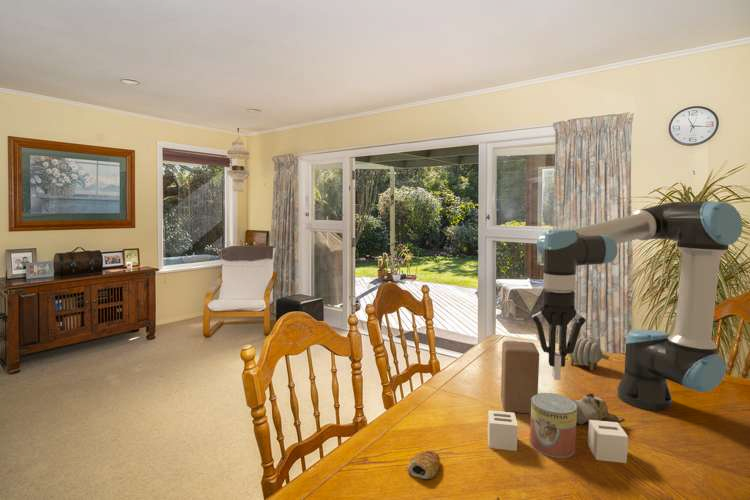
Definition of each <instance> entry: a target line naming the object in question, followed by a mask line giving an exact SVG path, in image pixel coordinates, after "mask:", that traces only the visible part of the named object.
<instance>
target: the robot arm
mask: <svg viewBox="0 0 750 500" xmlns="http://www.w3.org/2000/svg"><path fill="white" fill-rule="evenodd" d="M742 232H743V221H742V216H741V214H740V212H739V211H738V210H737V208H736V207H735V206H734V205H732V204H730V203H729V202H725V201H712V200H710V201H673V202H672V201H671V202H664V203H661V204H658V205H657V204H656V205H654V206H653V205H652V206H650V207H647V208H641V209H637V210H635V211H633V212H632V213H631V214H630V215H626V216H623V217H622V216H621V217H619V218H614V219H611V220H610V219H609V220H605V221H602V222H596V223H593V224H588V225H585V226H581V227H576V228H571V229H568V228H559V229H558V228H557V229H556V228H554V229H552V228H551V229H548V230H547V231H545V232H544V233H541V234H540V235H539V236H538V238H537V240H536V249H537V252H538V253H539V254H540V255H541V256H542V257H543V279H542V280H543V281H542V283H543V284H542V285H543V290H542V306H541V308H540V311H539V312H537V313H533V314H531V318H532V320H533V321H534V323H535V326H536V331H537V335H538V340H539V343H540V347H541V349H542V351H543V352H544V353H547V354H548V364H549V367H551V368H552V369H551V376H552V378H553V380H555V381H561V377H562V376H561V374H562V368H564V367H565V366H566V357H567V355H569V353H573V352H574V349H575V345H576V342H577V339H579V335H580V332H581V328H582V327H583V325H584V324H585V323H586V321H587V320H586V317H584V316H583V315H580V314H578V313H577V310H576V308H575V302H576V300H575V299H576V292H575V291H574V290H575V289H576V274H577V273H576V272H577V267H579V266H589V265H599V266H600V265H603V264H604V265H605V264H609V263H611V262H613V261H614V260H615V259H616V257H617V255H618V247H619V246H618V245H619V244H624V243H627V242H631V241H636V240H639V241H643V242H644V241H648V240H668V241H669V240H670V241H676V248H677V249H678V250H679V251H680V252H681V254H682V255H681V257H682V258H681V267H680V274H679V275H680V277H679V283H678V284H679V285H678V294H677V295H678V296H677V297H678V298H677V306H676V316H675V325H674V332H673V334H671V335H670V334H669V333H668V332H666V331H663V330H657V329H655V330H654V329H635V330H633V329H632V330H631V331H629V332H628V333H627V334H626V335H627V336H626V341H625V355H624V372H623V373H624V374H623V376H622V377H621V379H620V381H619V384H618V386H617V388H616V389H617V391H616V395H617V397H618V398H619V400H621V401H623V402H624V403H626V404H628V405H630V406H633V407H637V408H641V409H644V410H651V411H665V410H669V409H671V408H672V405H673V398H672V394H671V391H670V388H669V385H668V381H671V382H673V383H675V384H678V385H680V386H682V387H684V388H686V389H688V390H689V389H690V390H693V391H696V392H700V393H707V392H710V391H712V390H714V389H716V388H717V387H718V386H719V385H720V384H721V382H722V381H723V379H725V375H726V373H727V362H726V360H725V358H724V357H722V356H721V355H720V354H717V353H718V345H717V344H716V343H715V341H714V340H712V339H713V338H712V335H713V334H712V333H713V325H714V316H715V309H716V301H717V300H716V299H717V292H718V291H717V290H718V282H719V280H718V279H719V272H720V262H721V257H722V255H724V254H726V253H727V252H728V251H729V247H730V245H733V244H735V243H736V242H737V241H738V240H740V239H739V238H740V237H741V235H742ZM543 318H544V319H545V320H546V322H547V323H548V344H547V339H546V335H545V332H544V328H543V324H542V321H543ZM572 320H573V321H574V322H573V323H572V324H573V325H572V328H571V332H570V333H569V338H568V340H567V336H568V335H567V331H568V325H569V323H570V322H572ZM557 326H558V328H559V330H558V331H559V332H558V333H559V334H558V335H559V336H558V351H556V343H557V342H556V341H557V340H556V337H557V336H556V335H557ZM566 344H567V347H566ZM547 345H548V346H547ZM667 380H668V381H667Z"/></svg>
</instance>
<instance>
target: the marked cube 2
mask: <svg viewBox="0 0 750 500" xmlns="http://www.w3.org/2000/svg"><path fill="white" fill-rule="evenodd" d="M587 434H588V435H587V446H588V447H589V449H590V451H591V453H592V455H593V457H594V459H595V461H597V460H598V461H603V462H614V463H622V464H627V460H628V445H629V436H628V434H627V433H626V431H625V430H624V428H622V426H621V425H620V423H618V422H608V421H597V420H589V421H588V433H587Z"/></svg>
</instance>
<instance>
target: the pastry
mask: <svg viewBox="0 0 750 500" xmlns="http://www.w3.org/2000/svg"><path fill="white" fill-rule="evenodd" d="M440 460H441V457H440V456H439V454H438V453H436V452H434V451H432V450H425V451H421V452H418V453H417V454H415V455H414V457H411V459H410V460H409V463H408V464H409V465H408V466H407V467H406V470H407V472H408V474H410V475H411V476H412V475H413V477H415V478H421V479H423V480H431V479H433V478H435V476H436V475H437V474H438V471H439V468H440V464H441V463H440V462H441V461H440Z"/></svg>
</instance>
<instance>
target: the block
mask: <svg viewBox="0 0 750 500" xmlns="http://www.w3.org/2000/svg"><path fill="white" fill-rule="evenodd" d="M501 347H502V348H501V350H502V351H501V375H500V376H501V377H500V379H501V380H500V381H501V382H500V399H501V404H502V408H503V411H504V412H512V413H517V414H518V413H520V414H528V415H529V414H530V415H531V398H532V396H534V395H536V394H539V373H540V372H539V371H540V370H539V369H540V353H539V351H538V348H537V346H536V345H535V343H534V342H530V341H513V340H504V341H503V342H502V345H501Z"/></svg>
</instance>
